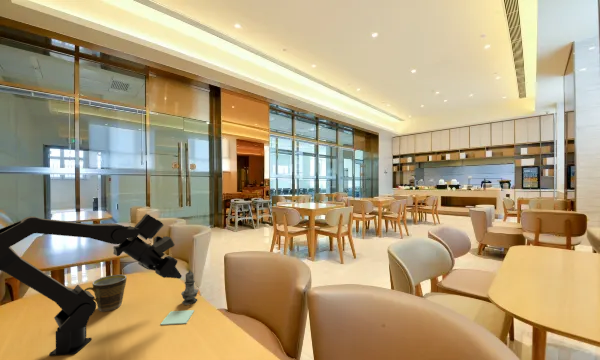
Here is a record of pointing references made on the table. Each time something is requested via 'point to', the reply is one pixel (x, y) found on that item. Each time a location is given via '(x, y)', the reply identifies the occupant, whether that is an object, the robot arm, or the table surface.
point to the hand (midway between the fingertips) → (174, 274)
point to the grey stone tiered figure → (189, 290)
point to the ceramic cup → (109, 292)
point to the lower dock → (177, 317)
